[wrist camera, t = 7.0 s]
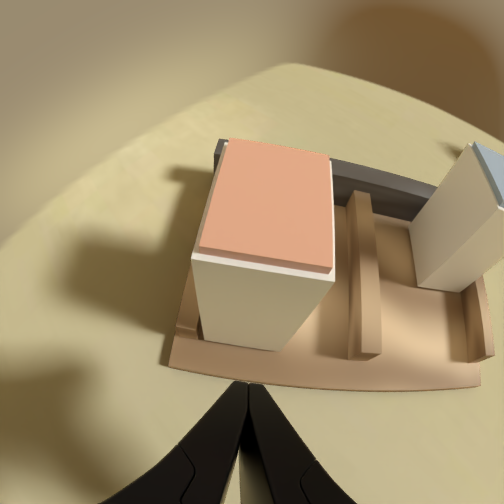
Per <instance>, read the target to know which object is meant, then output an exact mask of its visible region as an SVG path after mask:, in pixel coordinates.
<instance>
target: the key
mask: <svg viewBox="0 0 504 504" xmlns="http://www.w3.org/2000/svg"><path fill="white" fill-rule="evenodd" d="M191 263H192V270H193V276H194V283H195V289H196V295H197V301H198V307H199V313H200V319H201V324H202V330H203V335H204V340H207V341H212V342H218V343H224V344H230V345H236V346H242V347H249V348H256V349H263V350H270V351H277V352H280V351H281V350H282V349H283V348H284V346H285V345H286V344H287V343H288V342H289V340H290V339H291V338H292V337H293V335H294V334H295V333H296V332H297V330H298V329H299V328H300V327H301V326H302V324H303V323H304V322H305V320H306V319H307V318H308V317H309V315H310V314H311V313H312V312H313V310H314V309H315V308H316V306H317V305H318V304H319V303H320V301H321V300H322V299H323V297H324V296H325V295H326V293H327V292H328V291H329V289H330V288H331V287H332V285H333V284H334V283H335V228H334V200H333V181H332V165H331V161H330V160H329V155H325V154H321V153H316V152H311V151H306V150H301V149H296V148H290V147H285V146H279V145H274V144H268V143H262V142H255V141H249V140H242V139H235V138H229V142H225V143H224V146H223V149H222V153H221V156H220V159H219V162H218V165H217V169H216V172H215V175H214V178H213V182H212V185H211V189H210V192H209V195H208V199H207V202H206V206H205V209H204V213H203V216H202V220H201V223H200V227H199V230H198V234H197V238H196V241H195V245H194V249H193V253H192V256H191Z"/></svg>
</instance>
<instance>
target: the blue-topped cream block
mask: <svg viewBox="0 0 504 504" xmlns="http://www.w3.org/2000/svg"><path fill="white" fill-rule="evenodd" d="M408 228H409V234H410V239H411V245H412V251H413V257H414V264H415V271H416V278H417V286H418V287H424V288H431V289H437V290H444V291H451V292H458V293H459V292H461V291H462V290H464V289H465V288H466V287H467V286H469V285H470V284H471V283H473V282H474V281H475V280H477V279H478V278H479V277H480V276H482V275H483V274H484V273H485V272H487V271H488V270H489V269H490V268H492V267H493V266H494V265H495V264H496V263H498V262H499V261H500V260H501V259H502V258H504V156H502V155H500V154H499V153H497V152H495V151H493V150H491V149H489V148H487V147H485V146H483V145H481V144H479V143H477V142H474V143H473V145H471V144H469V143H468V144H467V145H466V147H465V149H464V150H463V152H462V153H461V155H460V156H459V158H458V159H457V161H456V162H455V163H454V165H453V166H452V168H451V169H450V171H449V172H448V174H447V175H446V176H445V178H444V179H443V181H442V182H441V183H440V185H439V186H438V188H437V189H436V190H435V192H434V193H433V195H432V196H431V197H430V199H429V200H428V201H427V203H426V204H425V205H424V207H423V208H422V209H421V211H420V212H419V213H418V214H417V216H416V217H415V218H414V220H413V221H412V222H411V224H410V225H409V226H408Z"/></svg>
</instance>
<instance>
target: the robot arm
mask: <svg viewBox="0 0 504 504" xmlns="http://www.w3.org/2000/svg"><path fill="white" fill-rule="evenodd" d="M238 450H239V475H240V498H241V504H357V503H356V502H355V501H354V500H352V499H351V498H350V497H349V496H348V495H347V494H346V493H345V492H344V491H343V490H342V489H341V488H340V487H339V486H338V485H337V484H336V483H335V482H334V480H333V479H332V478H331V477H330V476H329V474H328V473H327V472H326V471H325V470H324V468H323V467H322V466H321V464H320V463H319V462H318V461H317V460H316V458H315V457H314V455H313V454H312V453H311V451H310V450H309V449H308V447H307V446H306V445H305V443H304V442H303V440H302V439H301V438H300V436H299V435H298V434H297V432H296V431H295V429H294V428H293V427H292V425H291V424H290V422H289V421H288V420H287V418H286V417H285V415H284V414H283V413H282V411H281V410H280V408H279V407H278V405H277V404H276V403H275V401H274V400H273V398H272V397H271V395H270V394H269V392H268V391H267V390H266V388H265V387H264V385H262V384H256V383H249V385H248V383H247V382H241V381H234V382H233V383H232V384H231V385H230V386H229V387H228V388H227V389H226V391H225V392H224V393H223V394H222V395H221V396H220V398H219V399H218V400H217V401H216V402H215V403H214V404H213V405H212V407H211V408H210V409H209V410H208V411H207V412H206V413H205V414H204V416H203V417H202V418H201V419H200V420H199V421H198V422H197V423H196V424H195V426H194V427H193V428H192V429H191V430H190V431H189V432H188V433H187V434H186V435H185V436H184V437H183V438H182V440H181V441H180V442H179V443H178V445H176V446H175V447H174V448H173V449H172V450H171V451H170V452H169V453H168V454H167V455H166V456H165V457H164V458H163V459H162V460H161V461H160V462H159V463H157V464H156V465H155V466H154V467H152V468H151V469H150V470H149V471H147V472H146V473H145V474H143V475H142V476H141V477H139V478H138V479H136V480H135V481H133V482H132V483H131V484H129V485H128V486H126V487H125V488H123V489H122V490H120V491H119V492H117V493H116V494H114V495H113V496H111V497H110V498H108V499H106V500H105V501H103V502H101V503H98V504H224V501H225V498H226V494H227V491H228V487H229V484H230V480H231V477H232V473H233V470H234V466H235V462H236V459H237V454H238Z"/></svg>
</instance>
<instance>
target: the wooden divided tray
mask: <svg viewBox="0 0 504 504" xmlns="http://www.w3.org/2000/svg"><path fill="white" fill-rule="evenodd" d="M225 142H229V140H225V139H219V141H218V143H217V146H216V149H215V152H214V175H215V172H216V169H217V165H218V162H219V159H220V156H221V153H222V149H223V146H224V143H225ZM329 160H330V161H331V165H332V181H333V200H334V228H335V283H334V284H333V285H332V287H331V288H330V289H329V291H328V292H327V293H326V295H325V296H324V297H323V299H322V300H321V301H320V303H319V304H318V305H317V306H316V308H315V309H314V310H313V312H312V313H311V314H310V315H309V317H308V318H307V319H306V320H305V322H304V323H303V324H302V326H301V327H300V328H299V329H298V330H297V332H296V333H295V334H294V335H293V337H292V338H291V339H290V340H289V342H288V343H287V344H286V345H285V346H284V348H283V349H282V350H281V351H280V352H277V351H270V350H263V349H256V348H249V347H242V346H236V345H230V344H224V343H218V342H212V341H207V340H204V335H203V330H202V324H201V319H200V313H199V307H198V301H197V295H196V289H195V283H194V276H193V270H192V263H191V264H190V268H189V272H188V276H187V280H186V284H185V288H184V292H183V296H182V300H181V304H180V308H179V313H178V317H177V321H176V325H175V327H176V332H175V336H174V341H173V345H172V350H171V354H170V359H169V364H168V366H169V367H170V368H174V369H179V370H183V371H188V372H193V373H199V374H204V375H209V376H215V377H221V378H227V379H233V380H240V381H247V382H254V383H261V384H269V385H278V386H287V387H298V388H309V389H323V390H340V391H368V392H406V391H434V390H450V389H462V388H473V387H478V386H481V377H480V361H483V360H485V359H487V358H490V357H492V356H494V355H495V351H494V341H493V333H492V325H491V318H490V312H489V306H488V300H487V294H486V289H485V284H484V280H483V275H482V276H480V277H479V278H478V279H477V280H475V281H474V282H473V283H471V284H470V285H469V286H467V287H466V288H465V289H464V290H462V291H461V292H459V293H458V292H451V291H444V290H437V289H431V288H424V287H418V286H417V278H416V271H415V264H414V257H413V251H412V245H411V239H410V234H409V228H408V226H409V225H410V224H411V222H412V221H413V220H414V218H415V217H416V216H417V214H418V213H419V212H420V211H421V209H422V208H423V207H424V205H425V204H426V203H427V201H428V200H429V199H430V197H431V196H432V195H433V193H434V192H435V190H436V189H437V188H438V187H436V186H433V185H430V184H426V183H423V182H420V181H417V180H413V179H410V178H406V177H403V176H400V175H396V174H392V173H389V172H385V171H381V170H378V169H374V168H370V167H366V166H362V165H358V164H354V163H350V162H346V161H341V160H337V159H332V158H329Z"/></svg>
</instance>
